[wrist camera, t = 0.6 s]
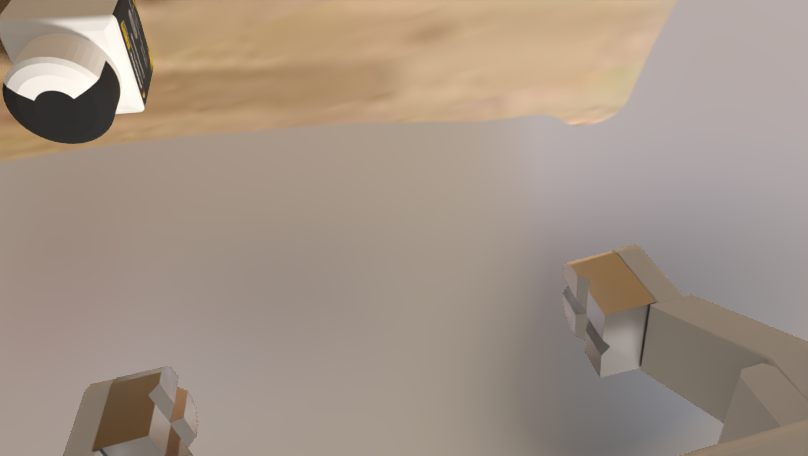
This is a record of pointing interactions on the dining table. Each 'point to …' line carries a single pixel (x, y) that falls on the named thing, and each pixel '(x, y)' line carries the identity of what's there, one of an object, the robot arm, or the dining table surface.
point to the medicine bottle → (74, 65)
